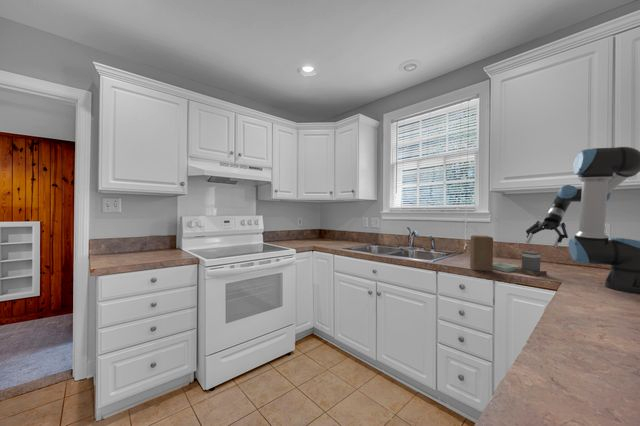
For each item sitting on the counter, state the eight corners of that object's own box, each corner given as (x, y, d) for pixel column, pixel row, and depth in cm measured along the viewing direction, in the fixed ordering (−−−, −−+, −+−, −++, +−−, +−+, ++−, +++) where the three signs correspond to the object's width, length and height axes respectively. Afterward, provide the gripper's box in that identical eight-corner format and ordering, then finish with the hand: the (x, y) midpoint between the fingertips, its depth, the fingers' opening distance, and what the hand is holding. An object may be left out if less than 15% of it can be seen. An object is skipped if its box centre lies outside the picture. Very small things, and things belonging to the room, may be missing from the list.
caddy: (540, 274, 156) (540, 252, 156) (532, 274, 154) (533, 253, 154) (528, 271, 162) (529, 251, 162) (521, 272, 160) (522, 251, 159)
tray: (519, 270, 165) (520, 266, 165) (505, 272, 160) (505, 267, 160) (499, 266, 176) (500, 262, 176) (485, 267, 172) (485, 263, 172)
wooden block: (473, 270, 163) (474, 236, 163) (469, 267, 172) (470, 235, 172) (493, 272, 160) (493, 237, 160) (488, 268, 170) (488, 235, 169)
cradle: (546, 274, 155) (546, 271, 155) (534, 276, 151) (534, 272, 151) (526, 270, 164) (526, 267, 164) (515, 271, 161) (515, 268, 161)
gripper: (583, 222, 158) (569, 252, 152) (532, 219, 180) (519, 245, 174) (579, 213, 155) (565, 243, 149) (528, 211, 177) (514, 237, 171)
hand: (540, 244), depth 161 cm, fingers open, 13 cm apart
